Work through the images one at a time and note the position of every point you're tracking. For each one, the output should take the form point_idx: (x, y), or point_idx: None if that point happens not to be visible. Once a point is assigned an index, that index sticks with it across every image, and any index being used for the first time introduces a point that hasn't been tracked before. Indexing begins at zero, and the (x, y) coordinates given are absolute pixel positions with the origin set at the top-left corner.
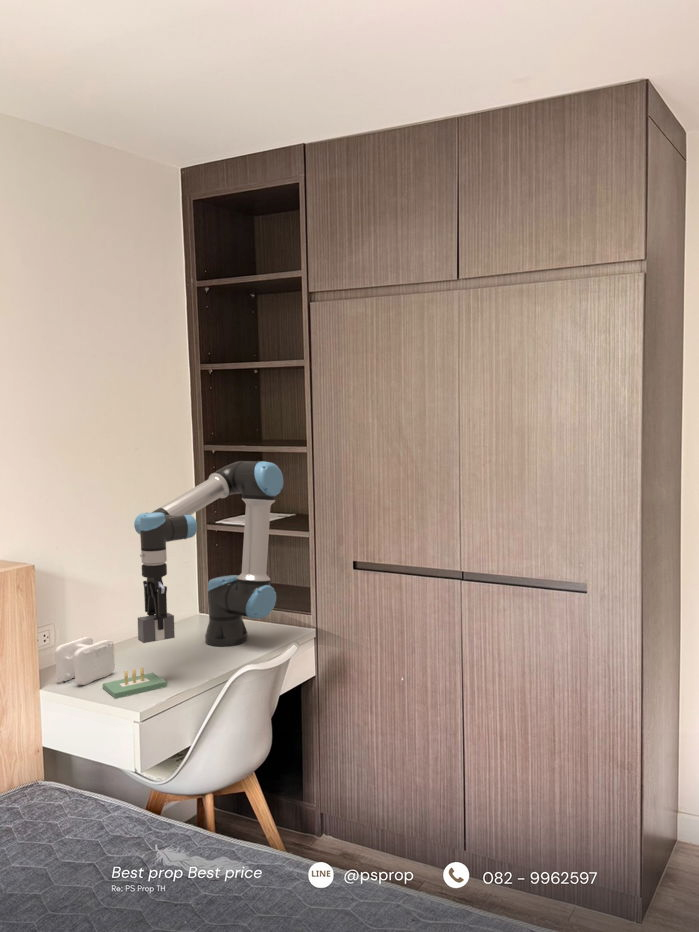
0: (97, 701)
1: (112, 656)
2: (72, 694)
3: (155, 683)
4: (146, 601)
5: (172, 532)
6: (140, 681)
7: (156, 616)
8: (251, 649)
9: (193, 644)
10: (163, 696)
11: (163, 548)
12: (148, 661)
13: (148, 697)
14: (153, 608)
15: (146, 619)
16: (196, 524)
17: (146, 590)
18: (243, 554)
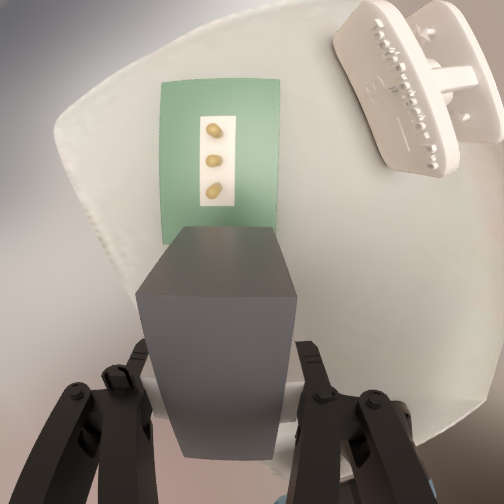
0: (179, 44)
1: (408, 163)
2: (285, 14)
3: (167, 211)
4: (383, 473)
5: None
6: (212, 179)
7: (118, 398)
8: (292, 441)
9: (407, 383)
10: (102, 203)
11: None
12: (402, 281)
13: (116, 167)
14: (295, 453)
15: (157, 332)
16: None
17: None
18: None
